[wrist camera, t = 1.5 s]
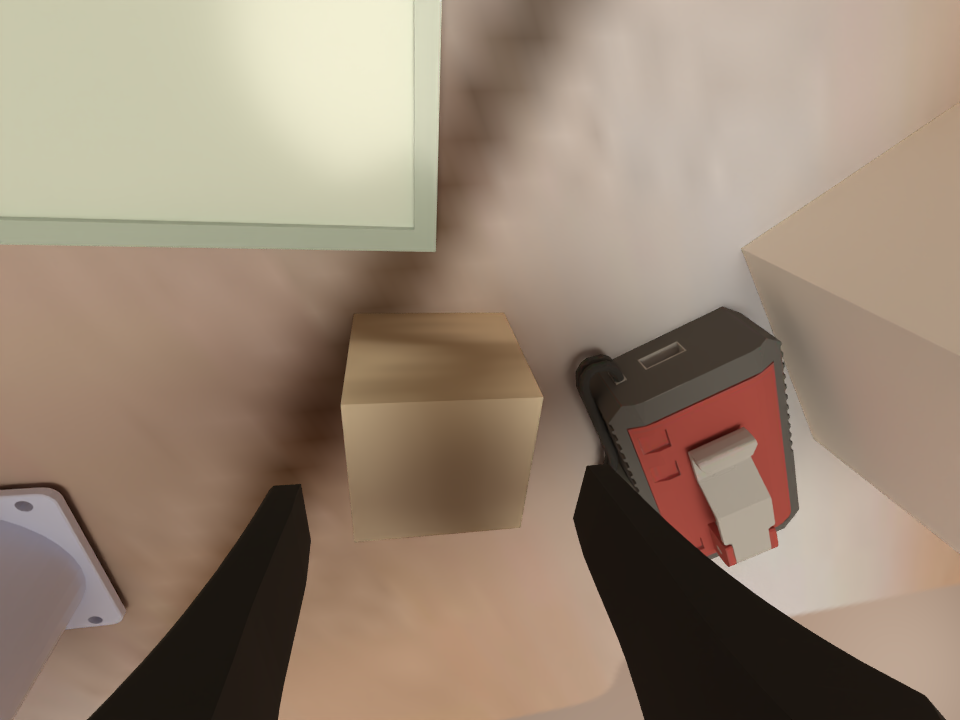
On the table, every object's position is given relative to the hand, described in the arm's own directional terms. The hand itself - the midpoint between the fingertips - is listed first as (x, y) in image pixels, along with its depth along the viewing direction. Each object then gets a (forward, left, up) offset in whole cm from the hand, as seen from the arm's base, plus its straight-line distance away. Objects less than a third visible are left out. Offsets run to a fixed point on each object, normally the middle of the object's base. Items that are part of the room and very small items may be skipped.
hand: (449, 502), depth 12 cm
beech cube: (0, 0, -6) cm, 6 cm away
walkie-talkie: (+12, -7, -7) cm, 15 cm away
